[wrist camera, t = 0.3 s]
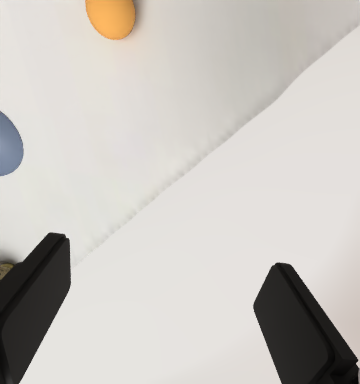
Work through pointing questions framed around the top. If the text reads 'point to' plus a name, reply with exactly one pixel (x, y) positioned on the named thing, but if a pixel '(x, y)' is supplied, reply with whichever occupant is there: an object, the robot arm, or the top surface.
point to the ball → (111, 17)
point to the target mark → (9, 146)
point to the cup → (5, 269)
